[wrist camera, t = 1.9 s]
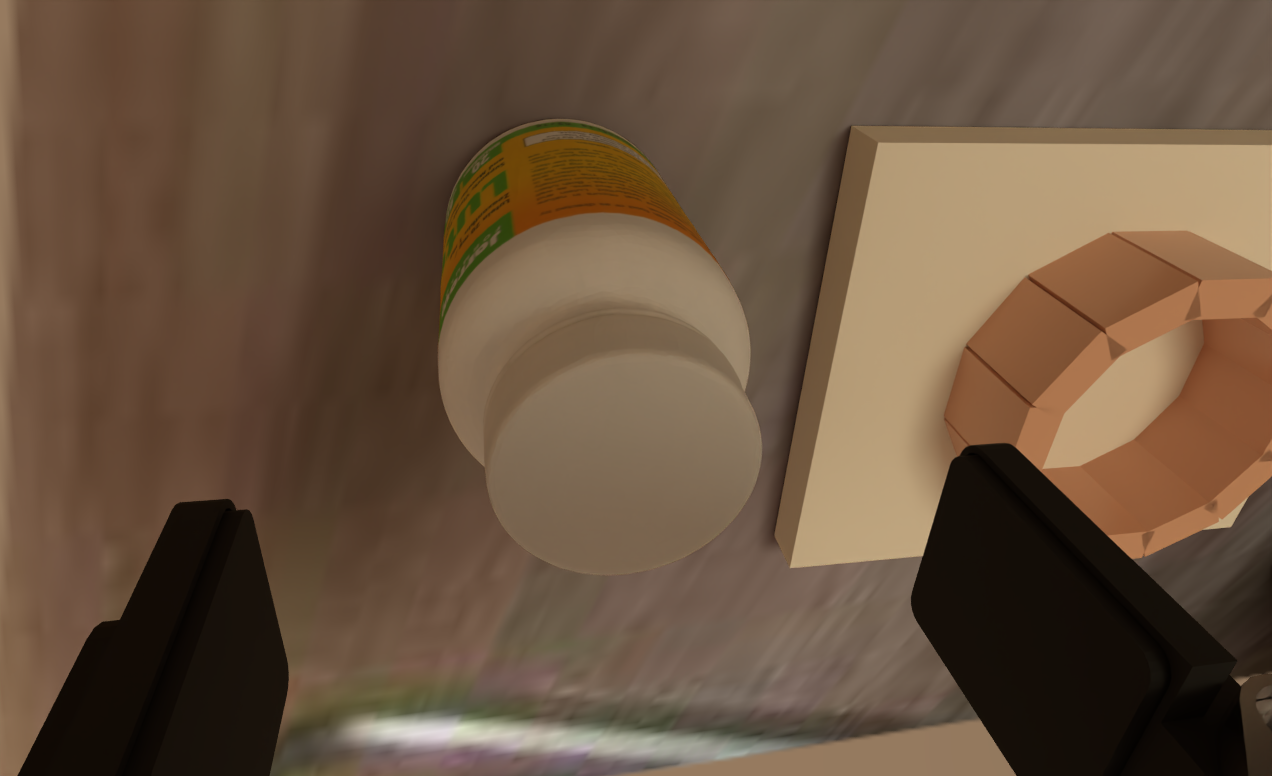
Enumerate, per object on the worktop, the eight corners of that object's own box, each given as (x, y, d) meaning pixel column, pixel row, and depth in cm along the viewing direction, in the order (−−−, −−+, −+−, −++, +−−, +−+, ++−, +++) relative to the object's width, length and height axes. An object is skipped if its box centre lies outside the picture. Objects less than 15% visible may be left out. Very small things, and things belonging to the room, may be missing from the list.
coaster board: (851, 125, 19) (878, 142, 18) (1394, 131, 22) (1449, 146, 21) (774, 535, 26) (790, 568, 25) (1197, 499, 29) (1231, 526, 28)
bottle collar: (998, 233, 20) (1075, 283, 17) (1290, 228, 22) (1398, 274, 19) (917, 503, 24) (968, 574, 22) (1163, 484, 26) (1237, 548, 24)
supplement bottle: (463, 87, 17) (465, 268, 9) (696, 142, 19) (870, 337, 11) (429, 309, 20) (407, 602, 12) (636, 342, 22) (741, 620, 13)
